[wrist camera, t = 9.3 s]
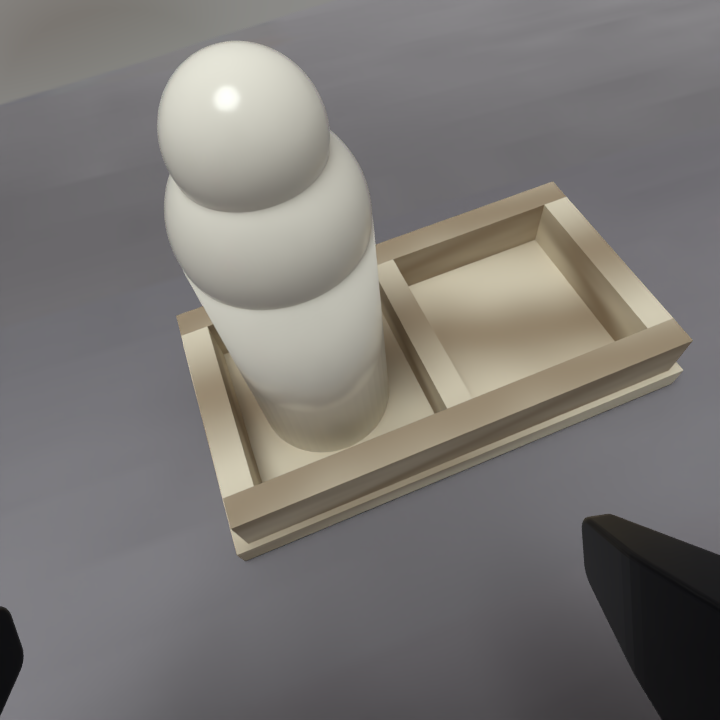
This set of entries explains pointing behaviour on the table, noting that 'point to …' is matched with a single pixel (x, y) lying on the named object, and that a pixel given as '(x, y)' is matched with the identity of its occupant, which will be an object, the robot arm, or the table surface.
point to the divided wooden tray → (449, 366)
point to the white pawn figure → (276, 240)
